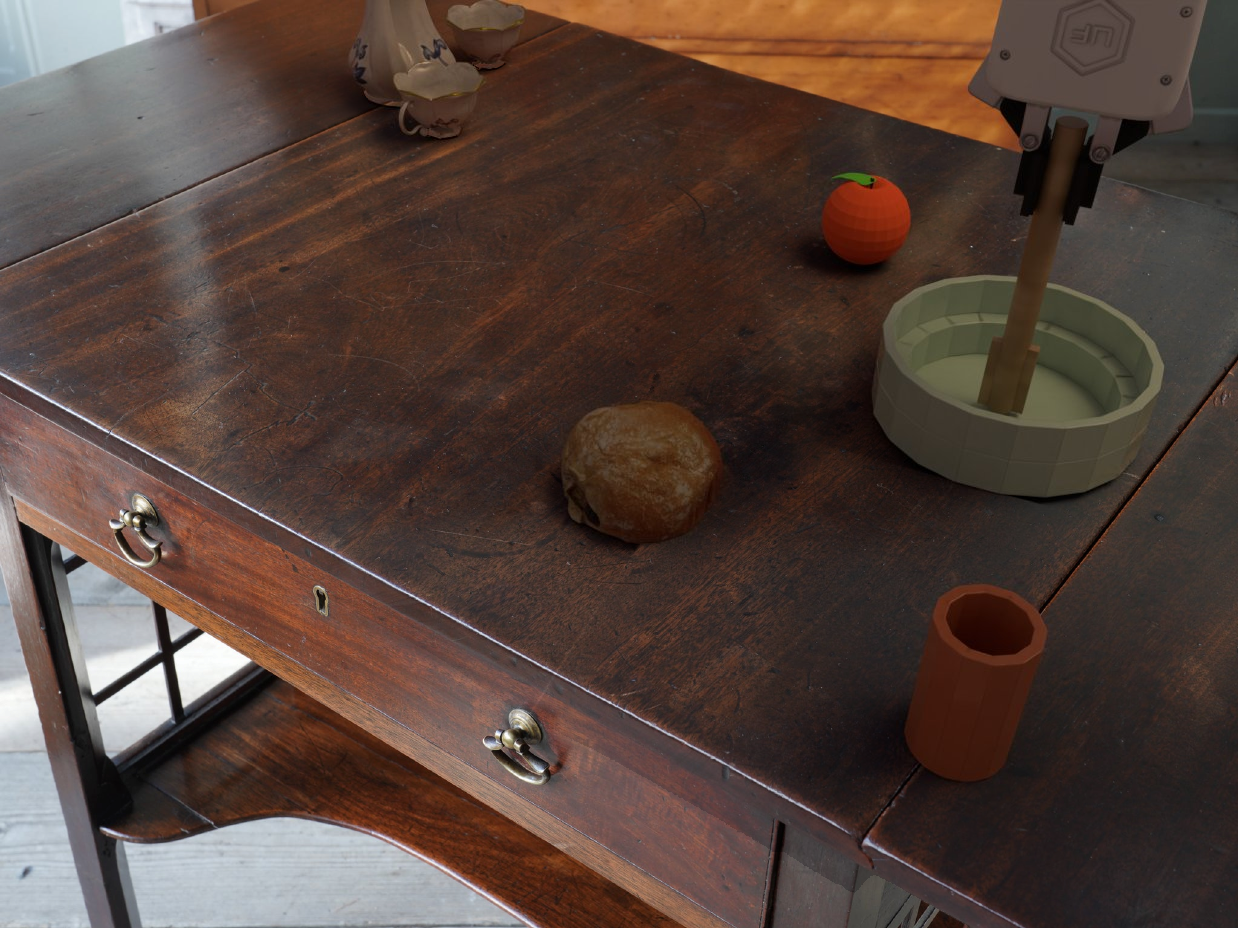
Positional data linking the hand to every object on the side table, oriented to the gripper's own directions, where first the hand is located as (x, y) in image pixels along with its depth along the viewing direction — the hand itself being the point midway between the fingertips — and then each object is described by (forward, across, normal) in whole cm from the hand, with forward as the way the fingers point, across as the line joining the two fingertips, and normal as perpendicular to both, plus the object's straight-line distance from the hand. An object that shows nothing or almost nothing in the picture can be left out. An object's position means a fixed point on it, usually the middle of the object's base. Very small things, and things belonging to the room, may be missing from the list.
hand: (1050, 209), depth 72 cm
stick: (+15, 0, 0) cm, 15 cm away
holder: (+16, +3, -28) cm, 33 cm away
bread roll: (+16, -19, -17) cm, 30 cm away
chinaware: (+16, -63, +31) cm, 72 cm away
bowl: (+16, 0, 0) cm, 16 cm away
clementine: (+16, -15, +17) cm, 27 cm away
